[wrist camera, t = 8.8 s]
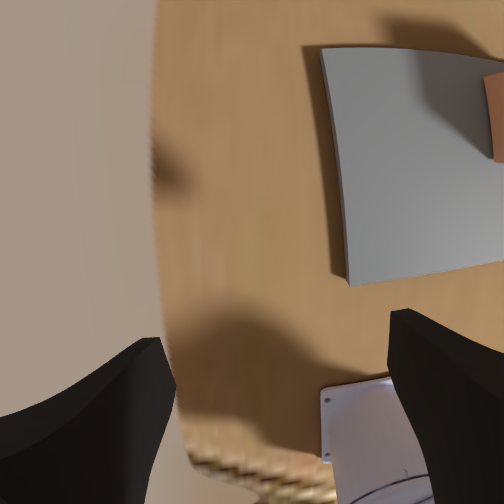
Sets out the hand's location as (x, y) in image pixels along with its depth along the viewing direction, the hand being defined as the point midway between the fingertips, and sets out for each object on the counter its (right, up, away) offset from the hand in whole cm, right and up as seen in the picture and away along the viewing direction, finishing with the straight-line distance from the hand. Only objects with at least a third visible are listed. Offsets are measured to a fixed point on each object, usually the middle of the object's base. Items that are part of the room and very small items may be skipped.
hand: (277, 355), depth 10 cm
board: (+12, +9, +6) cm, 16 cm away
